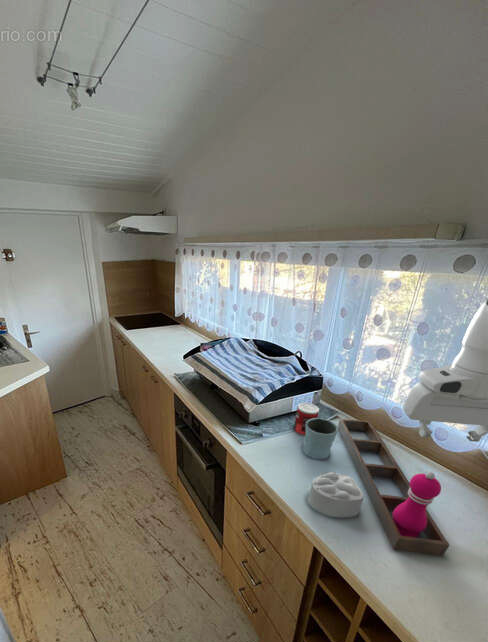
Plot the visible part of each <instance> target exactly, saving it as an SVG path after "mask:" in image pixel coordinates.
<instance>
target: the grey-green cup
mask: <svg viewBox="0 0 488 642" xmlns="http://www.w3.org/2000/svg"><path fill="white" fill-rule="evenodd" d="M338 432H339V429H338V425H337V424H336V423H334V422H333V421H331V420H329V419H326V418H322V417H318V418H312V419H310V420H308V421H307V422H306V432H305V433H306V435H304V439H303V448H302V451H303V453H304V454H305V455H306V456H308V457H310V458H312V459H315V460H324V459H327V458H328V457H329V456H330V454H331V453H330V452H331V448H332V446H333V444H334V442H335V438H336V435H337V433H338Z"/></svg>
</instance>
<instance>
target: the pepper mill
mask: <svg viewBox="0 0 488 642" xmlns="http://www.w3.org/2000/svg"><path fill="white" fill-rule="evenodd" d="M409 483H410V488H409V491H408V495H409V497H408V498H407V500H406V501H405V502H403V503H402V504H400V505H398V506H397V507H396V508H395V509H394V510H393V511H392V514H391V517H392V519H393V521H394V523H395V525H396V527H397V529H398V531H399V533H400V535H401V536H407V537H415V538H419V536H420V533H422V532H424V531H423V530H424V529H425V528H426V525H427V517H426V512H425V511H426V509H427V507H428V505H431V504H433V502H434V500H435V498H437V497H439V495H440V494H441V492H442V486H441V483H440V482H439V480H438V479H437V478H436V475H435V473H434V472H432V471H426V472H425V473H416V474H415V475H413V476H412V477H411V478H410V480H409Z"/></svg>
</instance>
